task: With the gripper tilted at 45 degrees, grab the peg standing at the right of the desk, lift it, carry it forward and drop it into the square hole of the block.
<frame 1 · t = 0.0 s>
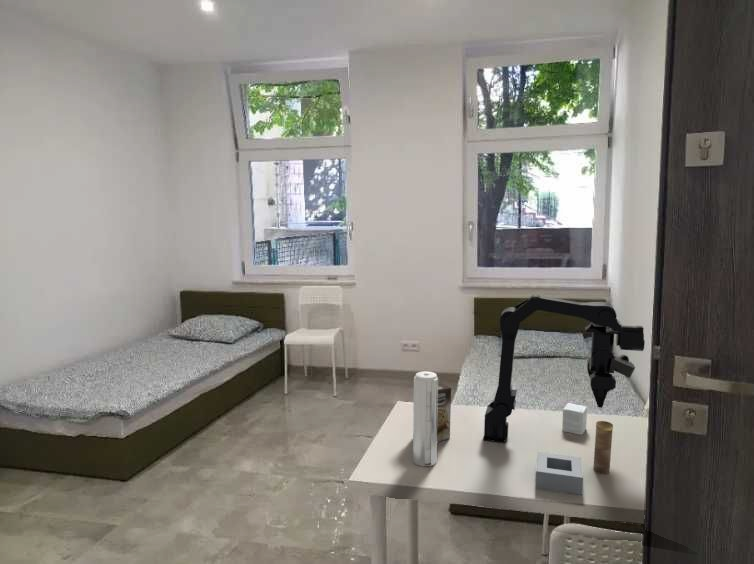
hand: (598, 401, 157), 15 cm above the table, tool pointing down, fingers open, 9 cm apart
coffee box: (432, 438, 167), on the table
socket block: (558, 480, 142), on the table
peg: (601, 470, 148), on the table
air filter: (424, 461, 153), on the table
product box: (574, 430, 173), on the table
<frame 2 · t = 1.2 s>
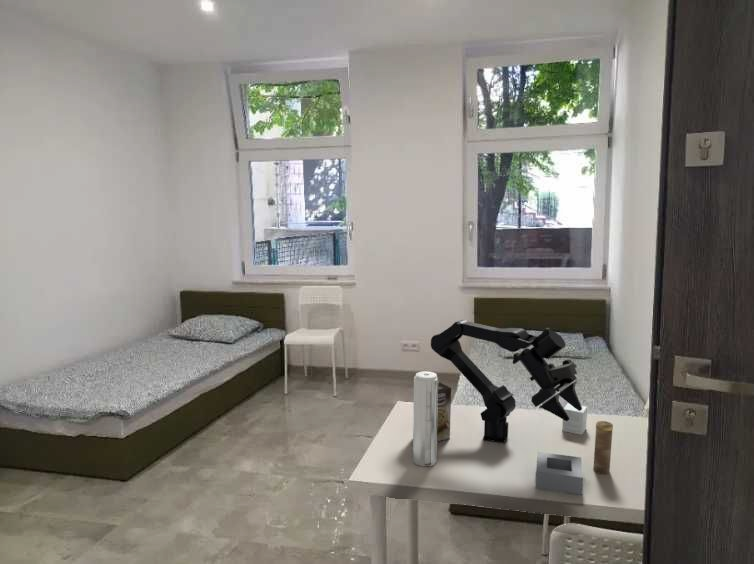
hand: (574, 415, 151), 13 cm above the table, tool tilted 45°, fingers open, 9 cm apart
nothing on the table moved.
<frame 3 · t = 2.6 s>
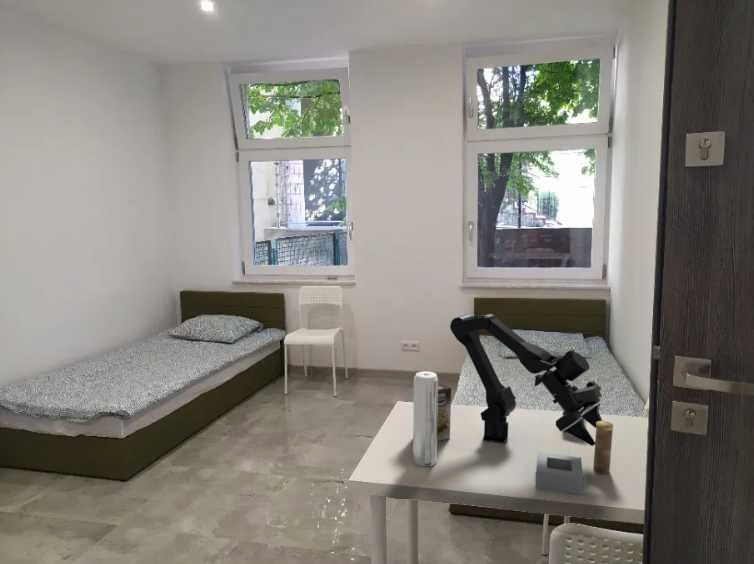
hand: (599, 438, 147), 9 cm above the table, tool tilted 45°, fingers open, 9 cm apart
nothing on the table moved.
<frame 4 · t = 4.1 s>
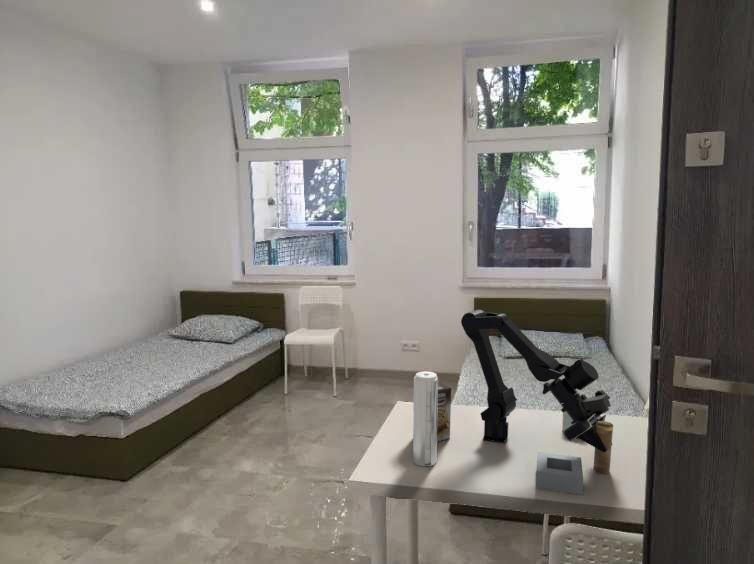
hand: (608, 448, 146), 7 cm above the table, tool tilted 45°, fingers closed on peg, 4 cm apart
peg: (601, 470, 148), on the table, touching gripper
everything else where it was.
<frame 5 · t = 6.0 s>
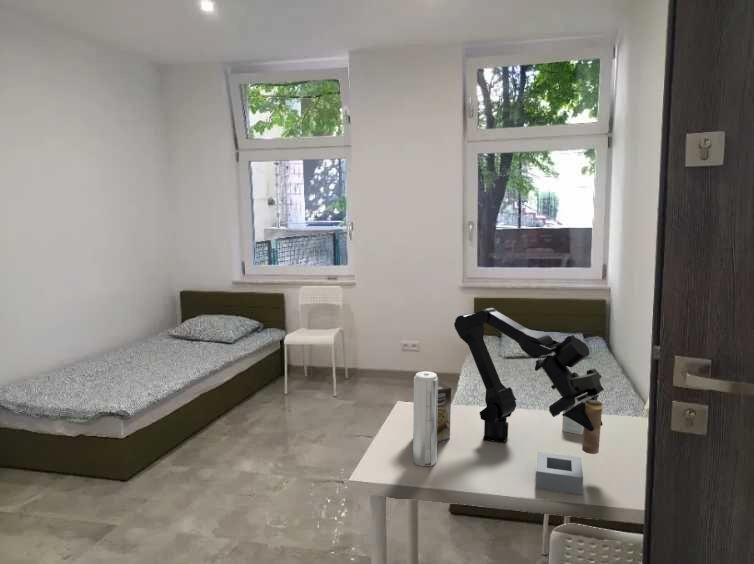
hand: (597, 428, 142), 13 cm above the table, tool tilted 45°, fingers closed on peg, 4 cm apart
peg: (590, 450, 144), point 7 cm above the table, touching gripper
everything else where it was.
when the fingers open (9 cm above the table, at t = 8.0 s): peg drops 2 cm, resting in socket block.
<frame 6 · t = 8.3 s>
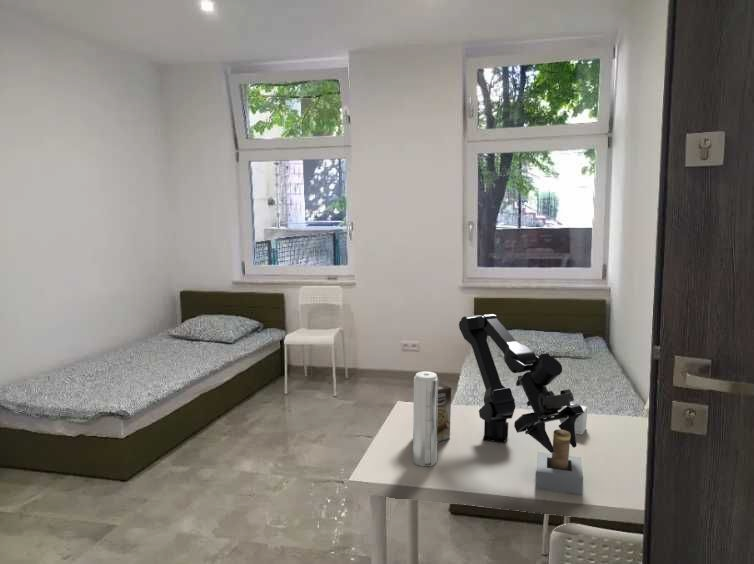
hand: (563, 449, 140), 9 cm above the table, tool tilted 45°, fingers open, 7 cm apart
peg: (558, 480, 143), resting in socket block
everything else where it was.
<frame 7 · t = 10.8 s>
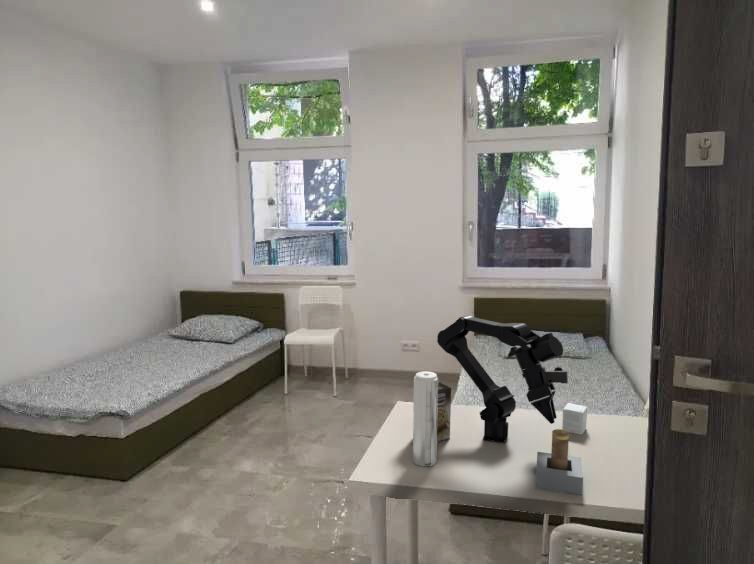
hand: (553, 420, 152), 11 cm above the table, tool tilted 30°, fingers open, 9 cm apart
nothing on the table moved.
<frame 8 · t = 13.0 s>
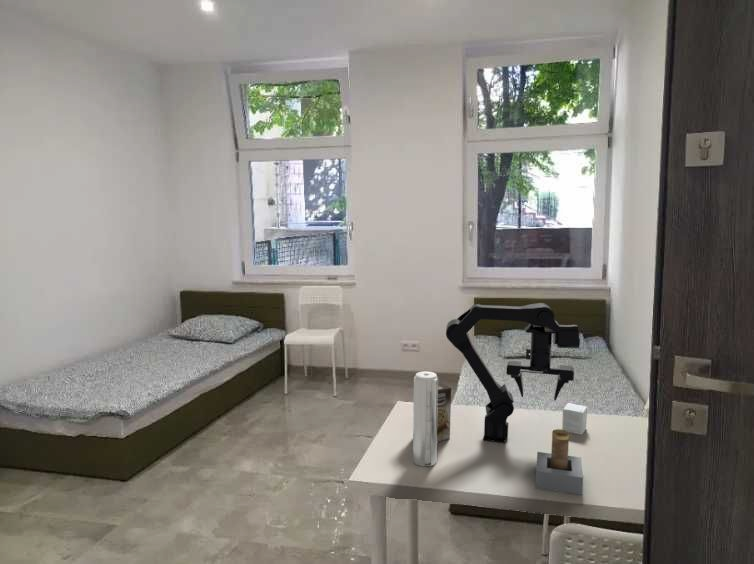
hand: (538, 398, 164), 13 cm above the table, tool pointing down, fingers open, 9 cm apart
nothing on the table moved.
at the end: peg 0.0 cm off-centre on the socket block, point 0.0 cm above the socket block's base; peg tilted 0°; the gripper is holding nothing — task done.
